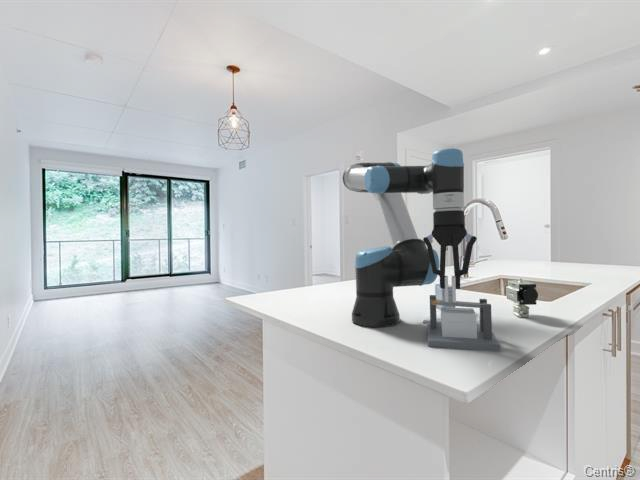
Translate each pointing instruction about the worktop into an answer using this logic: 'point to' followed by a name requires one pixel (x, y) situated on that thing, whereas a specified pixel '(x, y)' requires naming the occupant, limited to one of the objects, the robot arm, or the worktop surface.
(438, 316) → the external hard drive
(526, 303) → the pneumatic valve
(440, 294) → the medicine box
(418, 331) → the worktop surface
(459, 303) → the lever
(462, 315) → the heatsink base
